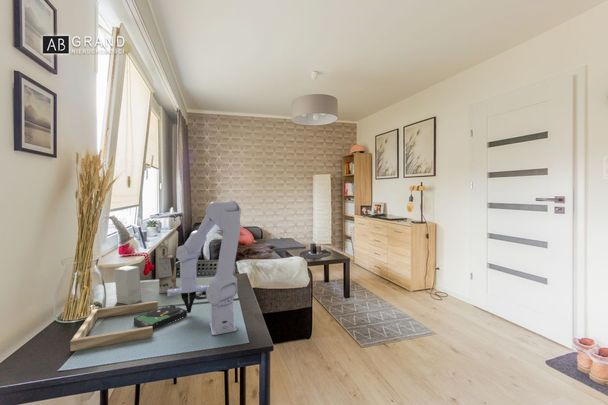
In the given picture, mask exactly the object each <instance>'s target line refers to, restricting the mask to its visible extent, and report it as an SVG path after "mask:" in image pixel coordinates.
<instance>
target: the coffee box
mask: <svg viewBox="0 0 608 405" xmlns="http://www.w3.org/2000/svg"><path fill="white" fill-rule="evenodd" d="M176 257H177V255H176V254H175V253H174V254H163V255H161V256H160V257H159V258H158V285H159V288H158V289H159V290H158V292H159V294H164V293H167V291H168V290H170V289H175V288H176V287H177V265H176V264H177V259H176Z"/></svg>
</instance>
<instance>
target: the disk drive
mask: <svg viewBox="0 0 608 405" xmlns="http://www.w3.org/2000/svg"><path fill="white" fill-rule="evenodd" d="M185 316H186V317H188V313H187V309H185V308H182V307H179V306H178V307H176V306H175V305H173V304H170V305H166V306H164V307H161V308H158V309H157V310H151V311H148V312H146V313H144V314H140V315H138V316H136V317H133V325H136V326H137V327H138V328H143V327H149V326H153V331H154V330H156V329H157V330H158V329H159V328H161V327H164V326H166V325H168V323H169V324H171V323H174V322H176V321H178V319H179V320H180V318H181V319H183V318H182V317H184V318H186V317H185ZM175 320H176V321H175ZM173 321H174V322H173ZM170 322H171V323H170Z"/></svg>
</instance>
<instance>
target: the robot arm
mask: <svg viewBox="0 0 608 405" xmlns="http://www.w3.org/2000/svg"><path fill="white" fill-rule="evenodd" d="M241 214H242V208H241V207H240V205H239V203H238V202H236V201H235V200H225V201H215V200H214V201H211V202H210V203H209V204H208V205H207V207H206V209H205V216H204V218H203V219H202V221H201V224H200V225H199V227H198V229H197V230H194V231H191V233H190V234H189V237H188V238H187V239H186V241H185V242H184V244H182V245H180V246H178V247H177V250H176V252H175V253H176V257H177V260H178V261H179V273H180V274H179V280H180V281H179V282H180V287H177V288H176V287H175V289H170V290H168V291H167V292H166V293H167V297H172V296H178V295H180V297H181V299H182V301H183V303H184V305H185V308H186V309H185V310H187V314H190V313H192V308H193V304H194V301H195V300H196V294H197V293H199V292H203V291H206V295H205V296H206V297H207V298H206V300H207V301H208V303H209V304H210V306H211V321H210V322H209V328H210V331H211V335H212V336H216V335H222V334H226V333H232V332H236V331H237V327H236V324H235V322H234V321H235V320H234V300H235V296H237V294H238V278H237V277H236V276H235V275H234V269H235V264H236V263H235V262H236V257H237V253H238V246H239V240H240V234H241V230H242V227H241V226H242V224H241V219H240V218H241ZM215 225H216V226H217V227H218V228H219V229H221V230H222V238H221V244H220V249H219V254H218V255H219V256H218V259H217V260H218V262H217V267H216V274H215V275H214V276H213V278H211V280H210V281H209V284H205V285H204V284H203V285H202V284H201V285H199V284H198V285H197V281H198V279H197V278H198V277H197V276H198V275H197V264H198V262H199V261H198V260H199V257H200V255H201V251H200V250H201V249H202V248H203V246H204V244H205V243H206V241H207V235H208V233H209V232H210V231H211V230H212V229H213V228H214V227H215Z"/></svg>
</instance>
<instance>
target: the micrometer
mask: <svg viewBox="0 0 608 405" xmlns="http://www.w3.org/2000/svg"><path fill="white" fill-rule="evenodd" d="M200 295H204V296H200ZM205 299H206V300H207V297H206V291H203V292H196V298H195V300H205Z"/></svg>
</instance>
